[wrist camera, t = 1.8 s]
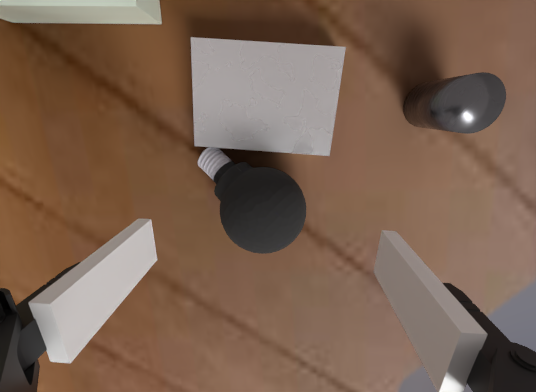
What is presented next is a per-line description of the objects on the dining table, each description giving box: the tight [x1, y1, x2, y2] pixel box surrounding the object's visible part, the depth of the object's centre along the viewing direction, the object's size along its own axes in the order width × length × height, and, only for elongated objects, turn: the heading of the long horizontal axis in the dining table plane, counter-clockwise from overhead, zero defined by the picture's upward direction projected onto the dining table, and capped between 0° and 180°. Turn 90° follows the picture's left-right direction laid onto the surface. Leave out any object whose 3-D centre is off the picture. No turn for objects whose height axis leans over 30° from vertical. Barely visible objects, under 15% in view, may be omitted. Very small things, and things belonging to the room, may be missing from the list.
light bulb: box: [198, 147, 306, 254], centre depth 19 cm, size 6×6×10 cm
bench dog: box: [404, 73, 506, 133], centre depth 16 cm, size 3×3×5 cm
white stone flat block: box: [191, 37, 346, 156], centre depth 18 cm, size 10×7×2 cm
